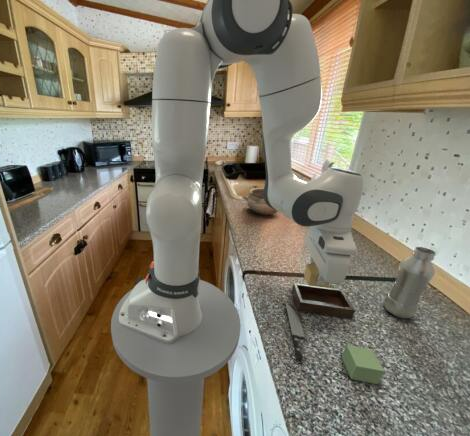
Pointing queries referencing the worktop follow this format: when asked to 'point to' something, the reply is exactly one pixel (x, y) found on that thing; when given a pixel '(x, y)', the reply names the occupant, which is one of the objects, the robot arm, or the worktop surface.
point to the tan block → (313, 275)
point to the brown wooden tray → (322, 301)
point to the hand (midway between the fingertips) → (316, 276)
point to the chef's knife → (295, 329)
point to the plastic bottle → (410, 283)
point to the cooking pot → (258, 202)
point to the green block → (362, 364)
